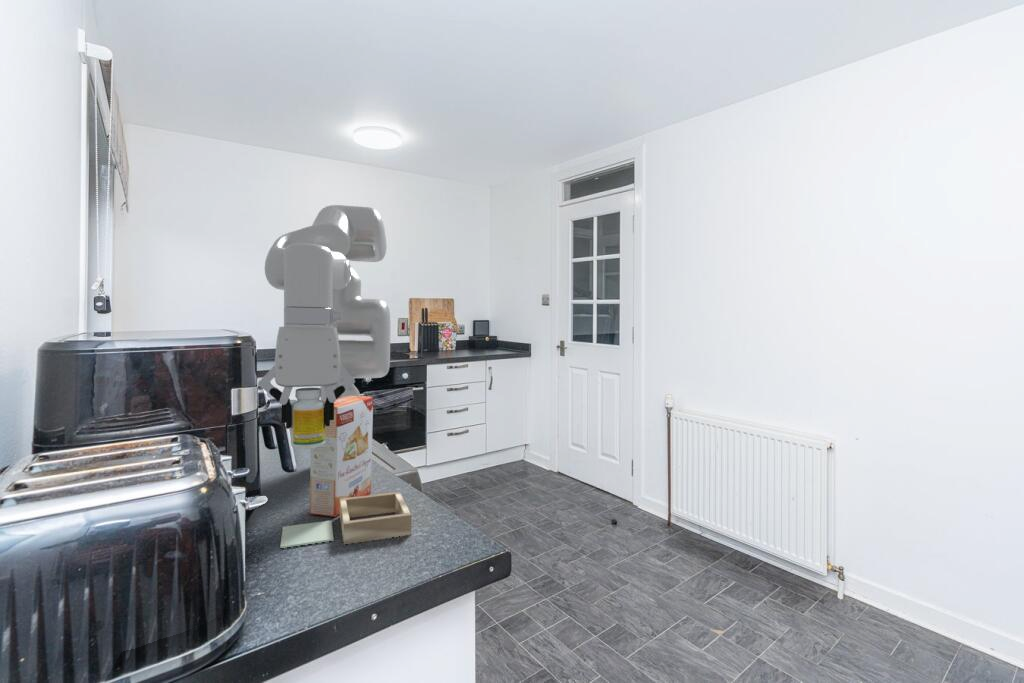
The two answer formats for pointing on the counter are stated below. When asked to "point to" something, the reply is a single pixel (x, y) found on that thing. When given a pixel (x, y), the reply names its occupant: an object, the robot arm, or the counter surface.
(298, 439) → the supplement bottle
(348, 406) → the cracker box
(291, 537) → the green mat
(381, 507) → the birch box
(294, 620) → the counter surface
